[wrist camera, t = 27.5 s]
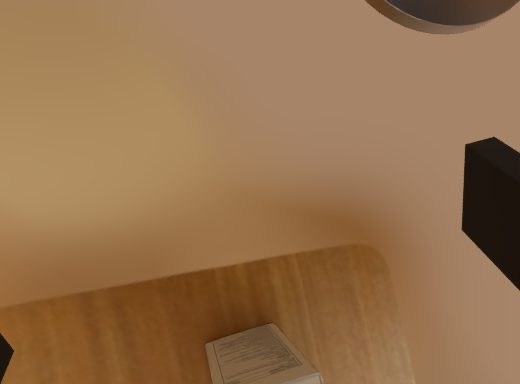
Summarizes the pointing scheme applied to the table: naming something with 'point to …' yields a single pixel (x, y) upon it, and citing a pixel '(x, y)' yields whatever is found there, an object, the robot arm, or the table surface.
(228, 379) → the cosmetic box
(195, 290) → the table surface
